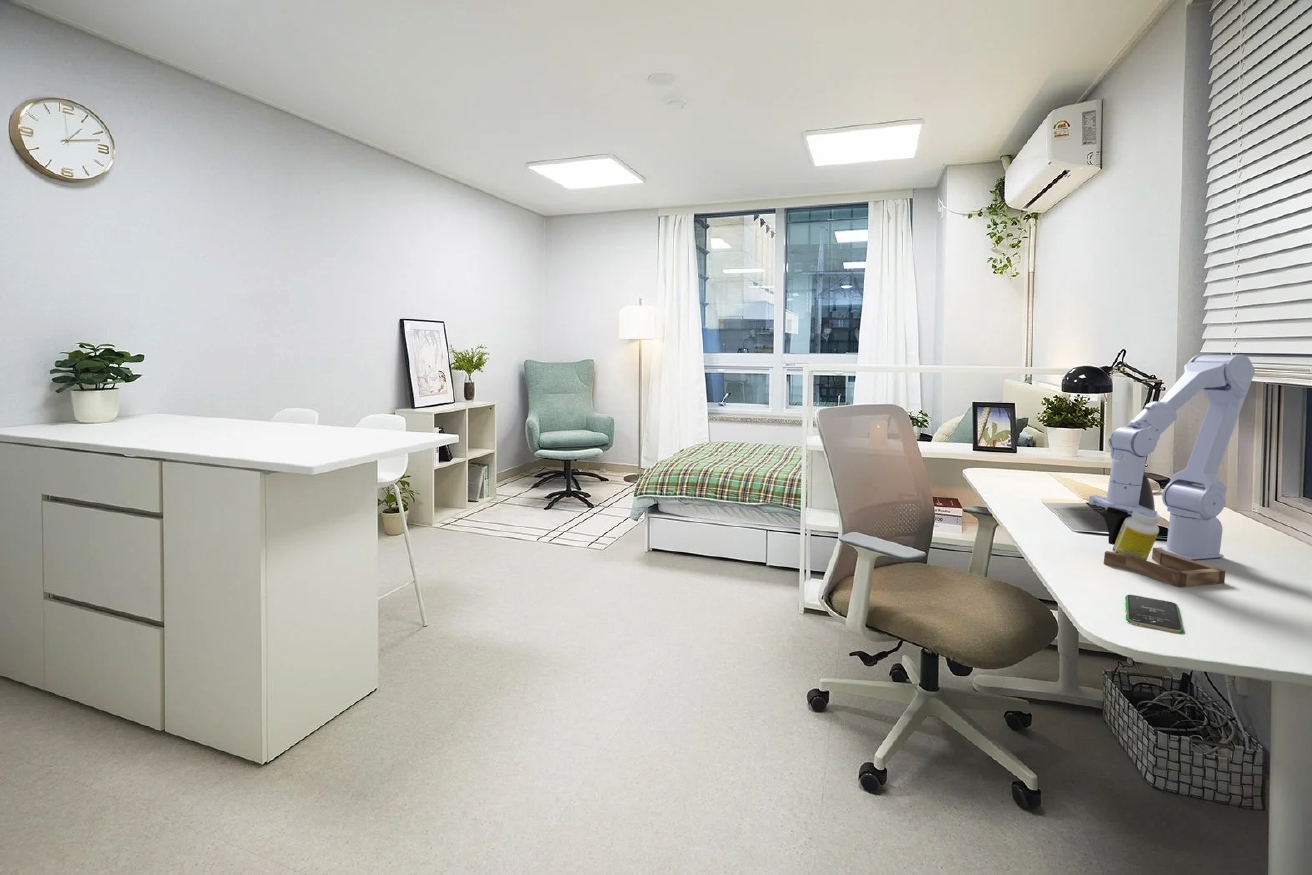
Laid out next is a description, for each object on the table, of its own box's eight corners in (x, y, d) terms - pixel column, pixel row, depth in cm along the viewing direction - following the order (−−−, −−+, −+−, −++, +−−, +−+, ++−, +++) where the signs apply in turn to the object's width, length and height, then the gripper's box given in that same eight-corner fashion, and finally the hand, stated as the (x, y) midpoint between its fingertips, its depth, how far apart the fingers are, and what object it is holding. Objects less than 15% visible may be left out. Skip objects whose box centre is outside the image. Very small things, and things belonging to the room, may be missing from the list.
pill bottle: (1151, 567, 139) (1172, 522, 134) (1121, 564, 139) (1140, 519, 134) (1134, 550, 144) (1153, 506, 140) (1105, 547, 145) (1123, 503, 140)
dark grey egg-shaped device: (1117, 530, 166) (1123, 471, 164) (1097, 520, 176) (1102, 464, 174) (1162, 532, 164) (1169, 472, 162) (1139, 522, 175) (1145, 465, 173)
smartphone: (1177, 602, 117) (1184, 631, 105) (1177, 607, 117) (1184, 636, 105) (1125, 592, 121) (1126, 619, 109) (1124, 597, 121) (1125, 625, 109)
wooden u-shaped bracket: (1156, 558, 144) (1157, 547, 144) (1231, 582, 129) (1233, 569, 129) (1100, 562, 140) (1101, 551, 140) (1171, 587, 126) (1172, 575, 125)
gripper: (1081, 475, 148) (1072, 534, 150) (1141, 489, 134) (1130, 554, 136) (1107, 476, 149) (1098, 534, 151) (1169, 490, 135) (1158, 554, 137)
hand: (1115, 544), depth 144 cm, fingers closed, pressing on pill bottle
